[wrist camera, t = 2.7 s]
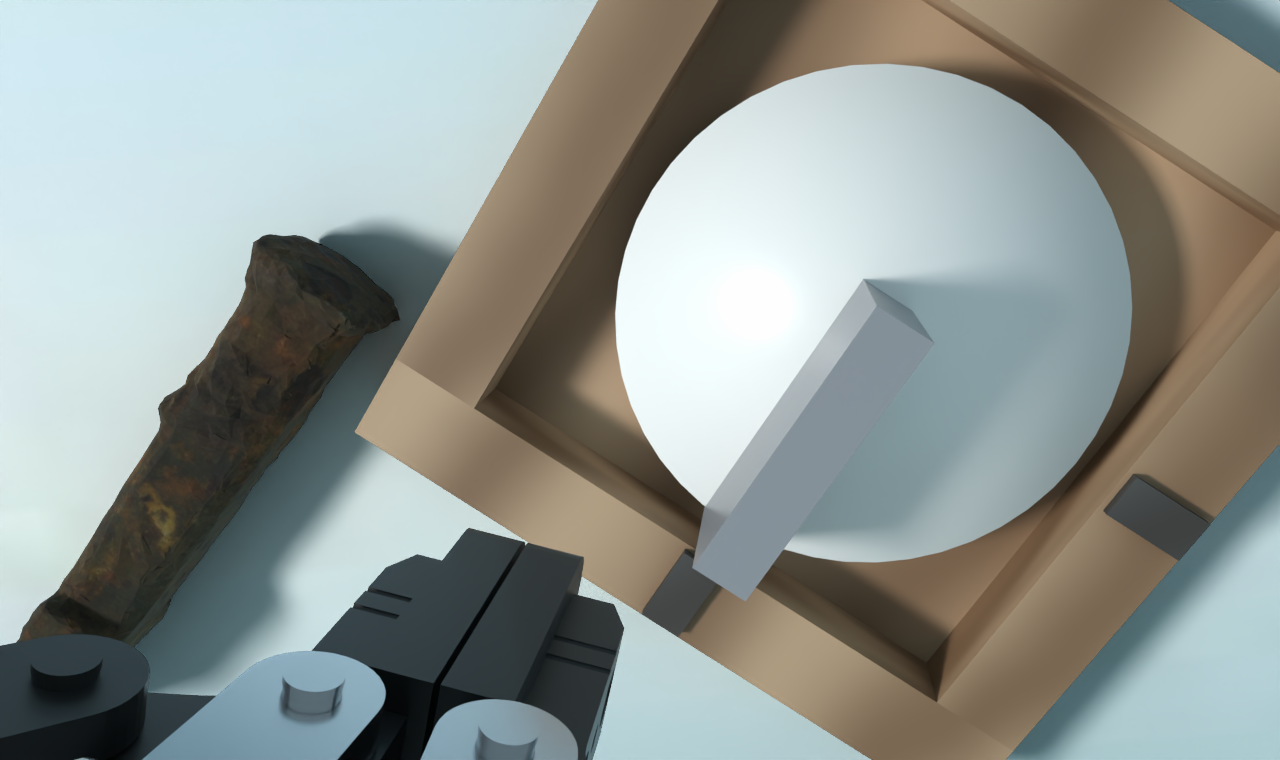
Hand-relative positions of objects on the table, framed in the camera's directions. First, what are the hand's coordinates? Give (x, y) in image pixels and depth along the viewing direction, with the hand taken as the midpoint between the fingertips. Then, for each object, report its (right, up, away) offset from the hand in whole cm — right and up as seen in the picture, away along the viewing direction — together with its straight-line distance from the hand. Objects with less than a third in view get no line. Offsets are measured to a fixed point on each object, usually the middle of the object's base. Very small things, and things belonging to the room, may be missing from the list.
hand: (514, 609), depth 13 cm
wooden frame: (+8, +5, +16) cm, 19 cm away
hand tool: (-12, -1, +21) cm, 24 cm away
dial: (+8, +5, +16) cm, 19 cm away
